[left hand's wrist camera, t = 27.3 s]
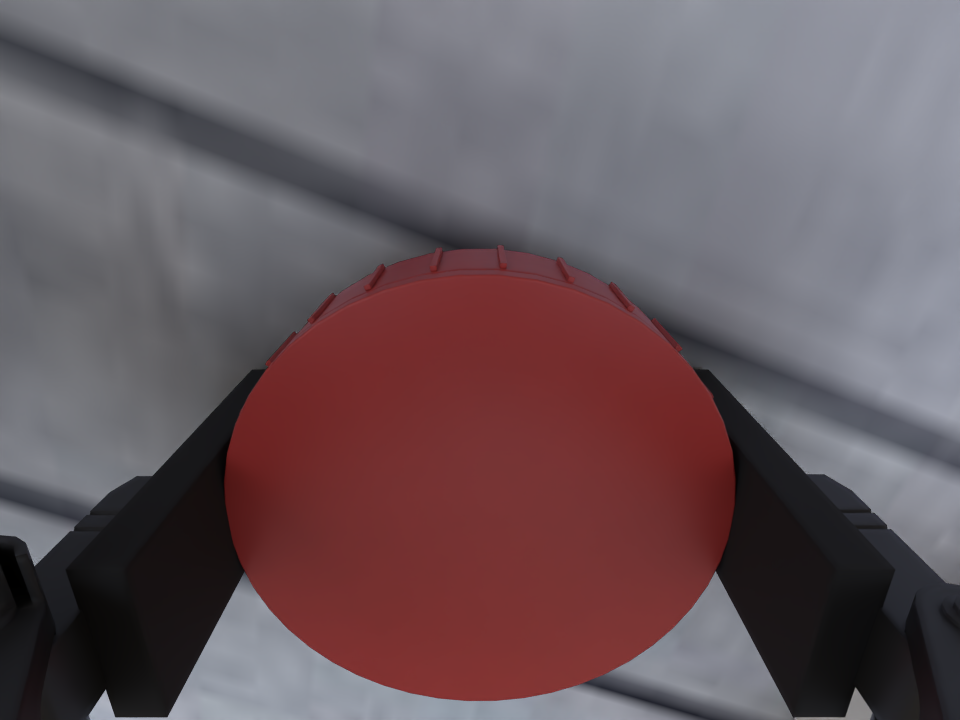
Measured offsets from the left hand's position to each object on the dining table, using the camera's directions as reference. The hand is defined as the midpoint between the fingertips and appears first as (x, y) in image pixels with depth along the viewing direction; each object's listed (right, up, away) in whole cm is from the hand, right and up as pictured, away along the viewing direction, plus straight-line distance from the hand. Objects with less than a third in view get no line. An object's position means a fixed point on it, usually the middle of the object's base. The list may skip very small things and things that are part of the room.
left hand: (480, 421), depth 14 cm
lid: (0, -1, -3) cm, 3 cm away
